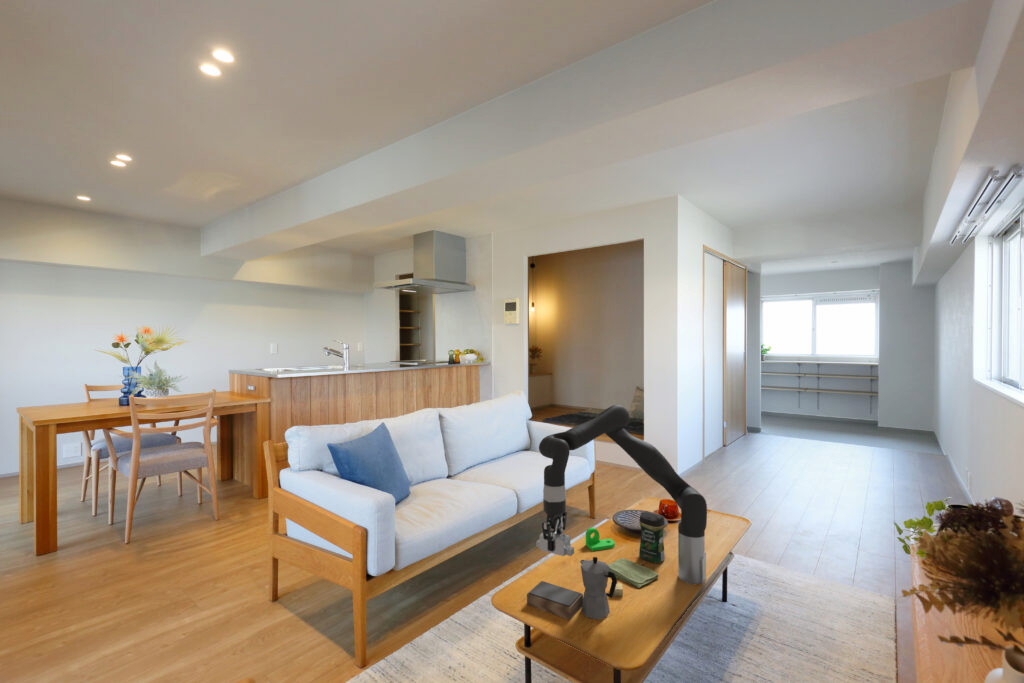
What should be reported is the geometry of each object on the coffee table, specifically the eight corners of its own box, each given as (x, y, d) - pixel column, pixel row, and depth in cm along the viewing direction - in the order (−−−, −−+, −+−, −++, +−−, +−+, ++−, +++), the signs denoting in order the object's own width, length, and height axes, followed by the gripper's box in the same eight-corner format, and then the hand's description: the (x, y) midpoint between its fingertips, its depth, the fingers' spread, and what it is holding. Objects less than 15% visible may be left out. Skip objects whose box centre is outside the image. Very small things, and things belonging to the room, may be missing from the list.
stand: (583, 605, 158) (582, 592, 158) (570, 620, 149) (570, 607, 149) (541, 592, 167) (541, 579, 167) (526, 605, 158) (526, 592, 158)
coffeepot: (570, 608, 156) (570, 554, 156) (589, 598, 162) (589, 546, 162) (607, 630, 145) (606, 572, 144) (626, 618, 150) (626, 562, 150)
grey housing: (541, 542, 164) (541, 528, 164) (575, 551, 157) (575, 536, 157) (534, 548, 159) (534, 533, 159) (569, 557, 152) (569, 542, 152)
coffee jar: (636, 558, 192) (636, 512, 192) (646, 552, 198) (645, 507, 197) (658, 566, 185) (658, 519, 185) (667, 559, 191) (667, 513, 191)
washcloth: (640, 591, 167) (640, 582, 167) (601, 573, 181) (600, 564, 181) (660, 579, 176) (660, 570, 176) (621, 562, 189) (621, 554, 189)
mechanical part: (592, 552, 198) (592, 533, 198) (585, 546, 204) (585, 528, 204) (617, 548, 201) (617, 530, 201) (610, 542, 207) (610, 524, 207)
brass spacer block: (622, 591, 167) (621, 583, 167) (622, 598, 163) (622, 589, 163) (610, 591, 167) (610, 582, 167) (611, 597, 163) (611, 588, 163)
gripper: (554, 489, 166) (554, 537, 166) (534, 501, 154) (534, 553, 154) (573, 493, 162) (574, 542, 162) (554, 505, 150) (555, 558, 150)
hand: (554, 547), depth 158 cm, fingers closed on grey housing, 5 cm apart
